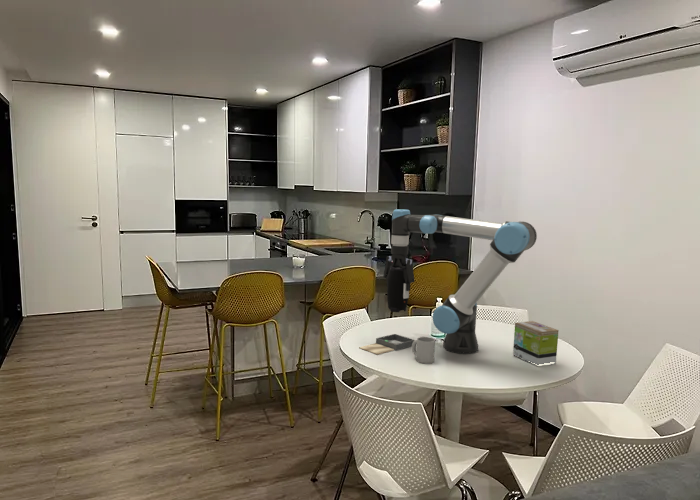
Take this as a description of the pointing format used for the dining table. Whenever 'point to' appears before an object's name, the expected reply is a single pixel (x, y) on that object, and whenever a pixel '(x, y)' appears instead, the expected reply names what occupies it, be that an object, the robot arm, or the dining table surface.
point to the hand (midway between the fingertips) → (397, 296)
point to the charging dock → (384, 341)
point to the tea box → (535, 342)
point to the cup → (424, 349)
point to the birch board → (376, 348)
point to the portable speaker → (396, 290)
